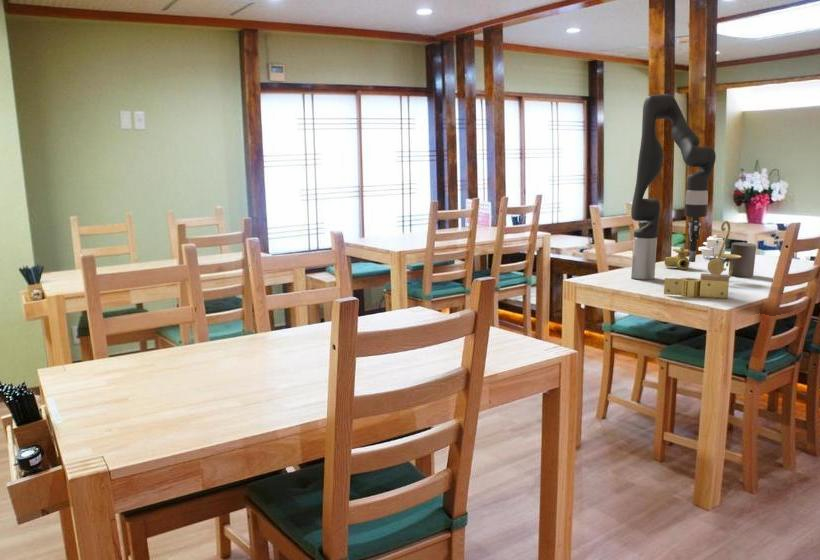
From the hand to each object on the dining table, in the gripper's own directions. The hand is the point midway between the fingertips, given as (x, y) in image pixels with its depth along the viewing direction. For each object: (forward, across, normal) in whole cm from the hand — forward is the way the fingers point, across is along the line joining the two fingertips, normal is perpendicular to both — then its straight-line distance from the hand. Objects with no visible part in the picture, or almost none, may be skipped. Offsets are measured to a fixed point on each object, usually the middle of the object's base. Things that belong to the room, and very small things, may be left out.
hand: (692, 250), depth 245 cm
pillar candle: (+17, +50, -24) cm, 58 cm away
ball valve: (+17, +63, +1) cm, 65 cm away
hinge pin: (+4, 0, 0) cm, 4 cm away
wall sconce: (+17, +32, -15) cm, 39 cm away
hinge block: (+17, 0, -2) cm, 17 cm away
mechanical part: (+17, +96, -16) cm, 98 cm away
